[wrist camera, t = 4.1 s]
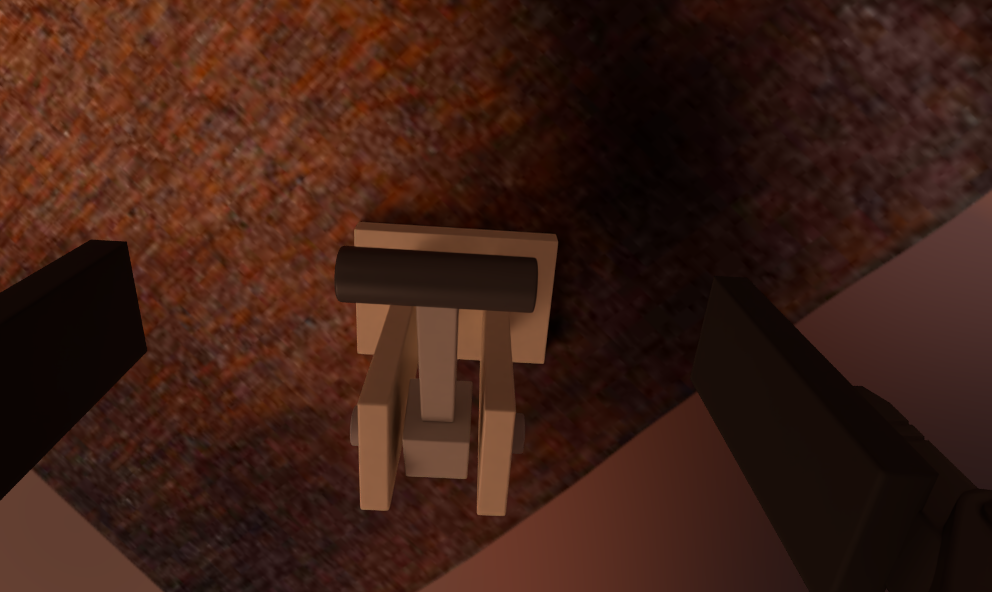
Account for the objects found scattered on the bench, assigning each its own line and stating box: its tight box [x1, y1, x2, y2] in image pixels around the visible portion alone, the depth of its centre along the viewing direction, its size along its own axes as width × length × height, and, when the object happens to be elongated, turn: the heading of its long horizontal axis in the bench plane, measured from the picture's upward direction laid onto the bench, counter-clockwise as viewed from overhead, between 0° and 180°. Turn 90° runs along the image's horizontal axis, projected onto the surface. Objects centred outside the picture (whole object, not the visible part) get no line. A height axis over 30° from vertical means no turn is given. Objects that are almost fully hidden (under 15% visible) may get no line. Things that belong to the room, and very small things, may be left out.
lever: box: [335, 246, 538, 479], centre depth 19 cm, size 10×5×2 cm, turn 177°
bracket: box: [350, 222, 558, 516], centre depth 27 cm, size 7×10×14 cm
